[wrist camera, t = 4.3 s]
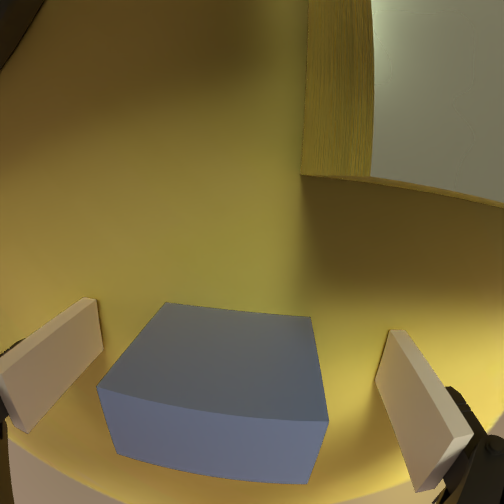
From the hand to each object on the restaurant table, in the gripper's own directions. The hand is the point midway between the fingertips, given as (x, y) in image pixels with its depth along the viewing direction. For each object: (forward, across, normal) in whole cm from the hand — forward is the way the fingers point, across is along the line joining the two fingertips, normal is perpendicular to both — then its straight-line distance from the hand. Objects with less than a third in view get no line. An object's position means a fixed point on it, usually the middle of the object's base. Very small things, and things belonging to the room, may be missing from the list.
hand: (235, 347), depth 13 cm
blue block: (0, 0, 0) cm, 0 cm away
